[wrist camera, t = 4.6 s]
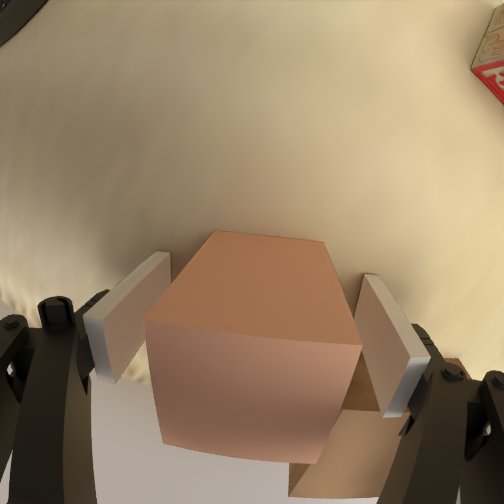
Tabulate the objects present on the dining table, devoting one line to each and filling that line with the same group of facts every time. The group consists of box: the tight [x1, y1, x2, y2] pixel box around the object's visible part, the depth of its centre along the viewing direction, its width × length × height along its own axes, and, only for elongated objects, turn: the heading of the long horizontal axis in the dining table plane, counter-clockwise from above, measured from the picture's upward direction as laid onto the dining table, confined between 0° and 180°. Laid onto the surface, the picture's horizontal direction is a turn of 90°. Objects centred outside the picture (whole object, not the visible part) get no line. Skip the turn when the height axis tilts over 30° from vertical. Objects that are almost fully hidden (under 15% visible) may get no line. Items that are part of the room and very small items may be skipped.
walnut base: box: [288, 350, 472, 499], centre depth 15 cm, size 9×9×5 cm
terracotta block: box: [144, 230, 363, 464], centre depth 11 cm, size 5×5×8 cm
